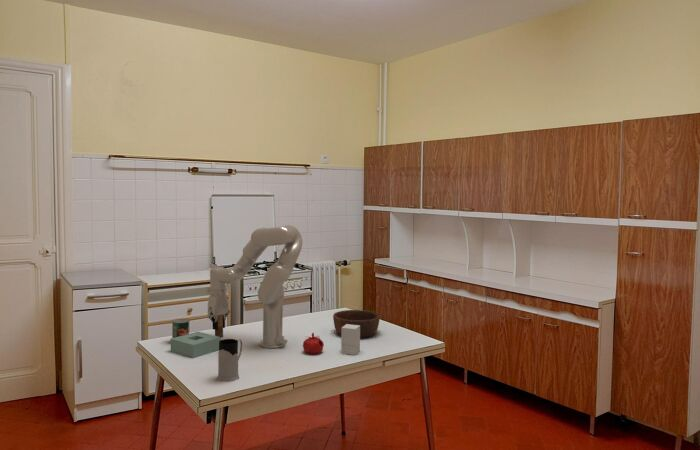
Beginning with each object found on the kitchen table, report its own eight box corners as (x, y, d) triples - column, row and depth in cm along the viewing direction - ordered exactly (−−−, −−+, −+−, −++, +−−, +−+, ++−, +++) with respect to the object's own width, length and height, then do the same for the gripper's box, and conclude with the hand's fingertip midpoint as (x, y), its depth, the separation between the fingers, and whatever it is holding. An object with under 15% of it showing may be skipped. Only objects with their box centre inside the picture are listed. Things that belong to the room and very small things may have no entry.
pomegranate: (304, 356, 246) (304, 337, 245) (300, 350, 256) (300, 331, 255) (325, 354, 249) (325, 335, 248) (321, 348, 259) (321, 329, 258)
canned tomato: (183, 345, 259) (183, 323, 258) (169, 344, 260) (169, 321, 259) (191, 340, 266) (191, 319, 266) (177, 339, 268) (177, 318, 267)
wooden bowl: (387, 332, 290) (388, 314, 290) (363, 343, 269) (364, 323, 269) (349, 325, 304) (349, 307, 303) (323, 335, 283) (323, 316, 282)
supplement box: (360, 351, 256) (360, 325, 255) (355, 355, 249) (356, 328, 248) (345, 349, 258) (346, 323, 257) (340, 353, 251) (341, 327, 250)
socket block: (220, 349, 253) (220, 337, 253) (193, 358, 240) (193, 345, 239) (197, 343, 262) (197, 331, 262) (170, 351, 249) (170, 338, 248)
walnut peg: (224, 336, 268) (224, 313, 267) (218, 338, 264) (218, 314, 263) (219, 335, 270) (218, 312, 269) (213, 337, 266) (212, 313, 266)
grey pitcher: (212, 379, 214) (212, 342, 213) (232, 368, 227) (232, 334, 226) (231, 382, 211) (231, 345, 210) (250, 371, 224) (250, 336, 223)
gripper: (225, 289, 275) (226, 324, 276) (199, 294, 261) (200, 331, 262) (235, 290, 270) (236, 326, 272) (210, 295, 257) (211, 333, 258)
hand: (218, 328), depth 267 cm, fingers closed on walnut peg, 4 cm apart
